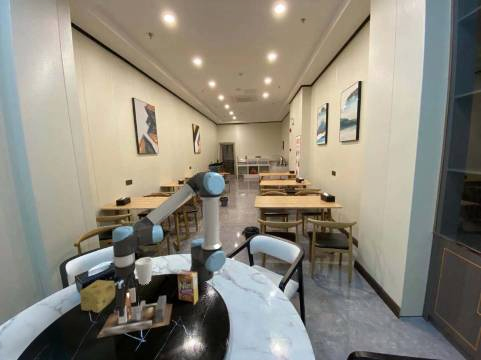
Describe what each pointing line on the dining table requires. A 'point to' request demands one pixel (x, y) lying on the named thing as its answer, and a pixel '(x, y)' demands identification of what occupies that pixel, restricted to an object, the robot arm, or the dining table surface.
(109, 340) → the dining table surface
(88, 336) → the dining table surface
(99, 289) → the cheese
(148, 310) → the nut
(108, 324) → the board
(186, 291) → the candy box
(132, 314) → the ram
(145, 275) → the foam cup
